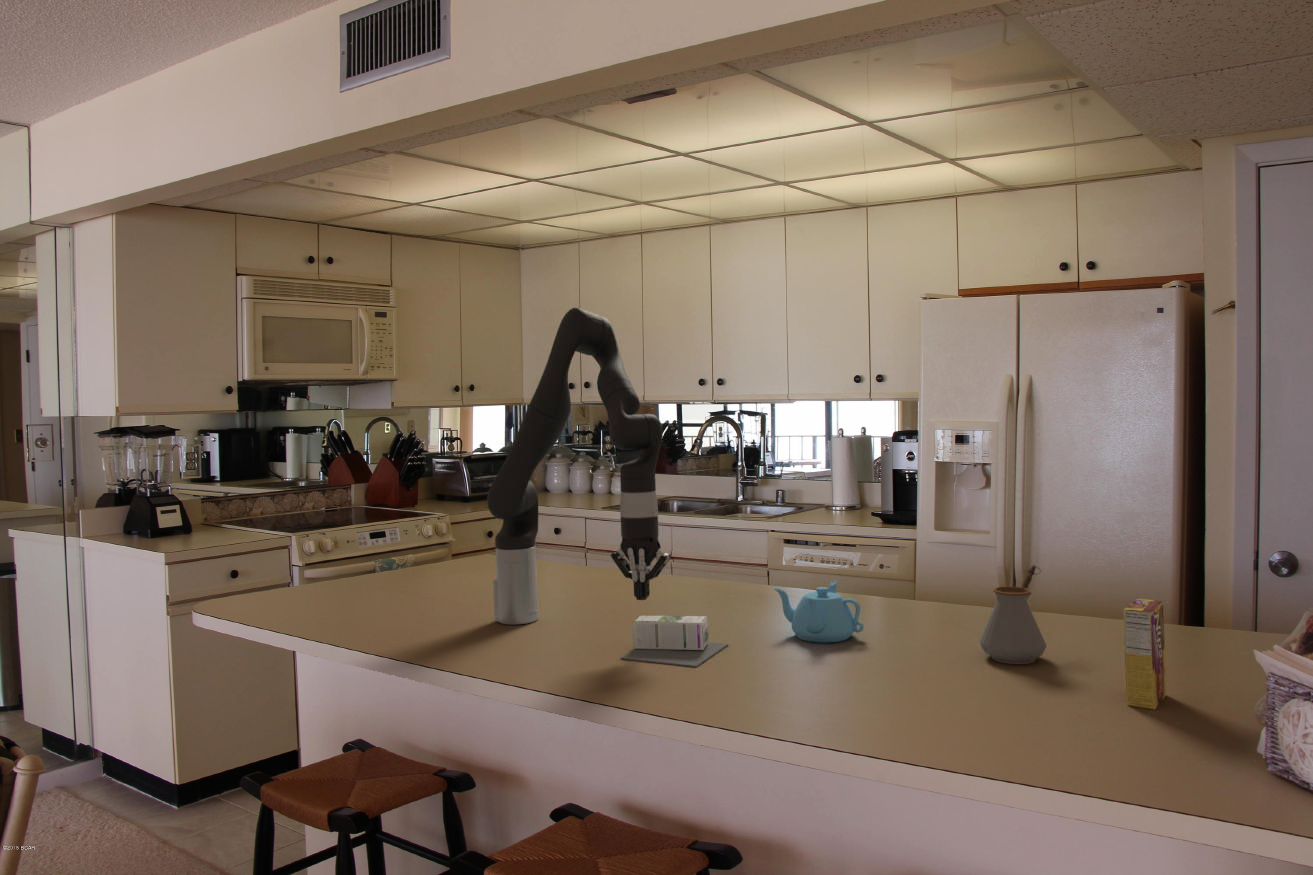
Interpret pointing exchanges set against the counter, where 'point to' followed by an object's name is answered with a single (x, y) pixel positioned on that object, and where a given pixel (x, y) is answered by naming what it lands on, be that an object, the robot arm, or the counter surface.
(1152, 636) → the candy box
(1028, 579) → the coffee pot
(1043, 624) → the counter surface
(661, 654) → the mat
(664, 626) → the syrup box
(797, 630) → the teapot
